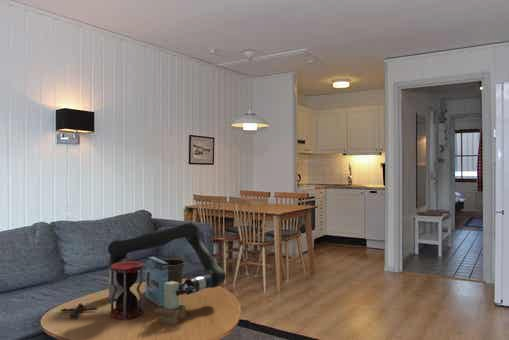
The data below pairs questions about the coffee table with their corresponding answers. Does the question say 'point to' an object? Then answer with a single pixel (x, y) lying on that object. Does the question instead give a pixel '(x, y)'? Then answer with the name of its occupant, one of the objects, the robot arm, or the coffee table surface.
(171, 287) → the sage block
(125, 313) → the hourglass
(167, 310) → the walnut base block
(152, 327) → the coffee table surface
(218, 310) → the coffee table surface
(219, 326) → the coffee table surface
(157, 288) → the gum box
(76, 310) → the brown crossed bar shape
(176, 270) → the plant pot
